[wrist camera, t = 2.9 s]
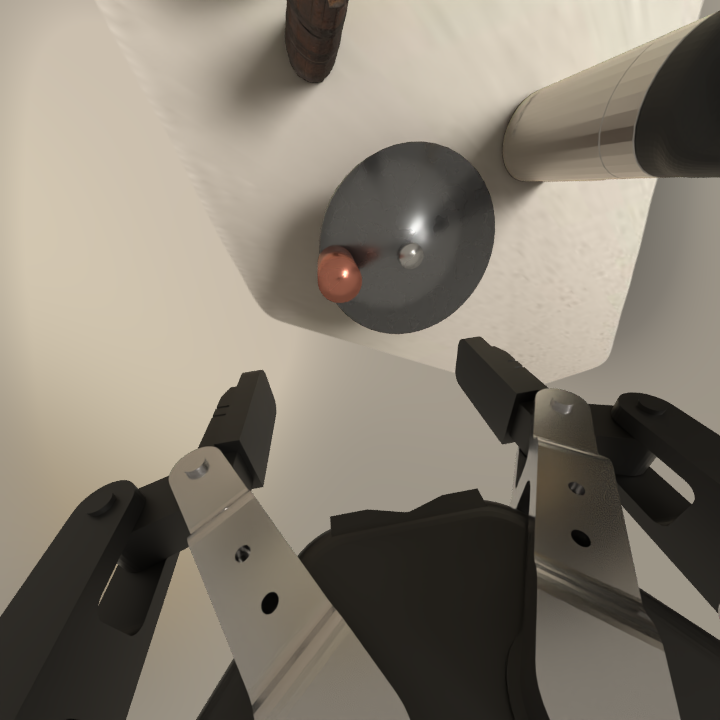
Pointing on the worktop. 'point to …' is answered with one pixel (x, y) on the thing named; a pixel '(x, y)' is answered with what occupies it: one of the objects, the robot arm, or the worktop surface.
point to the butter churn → (314, 36)
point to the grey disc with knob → (406, 238)
